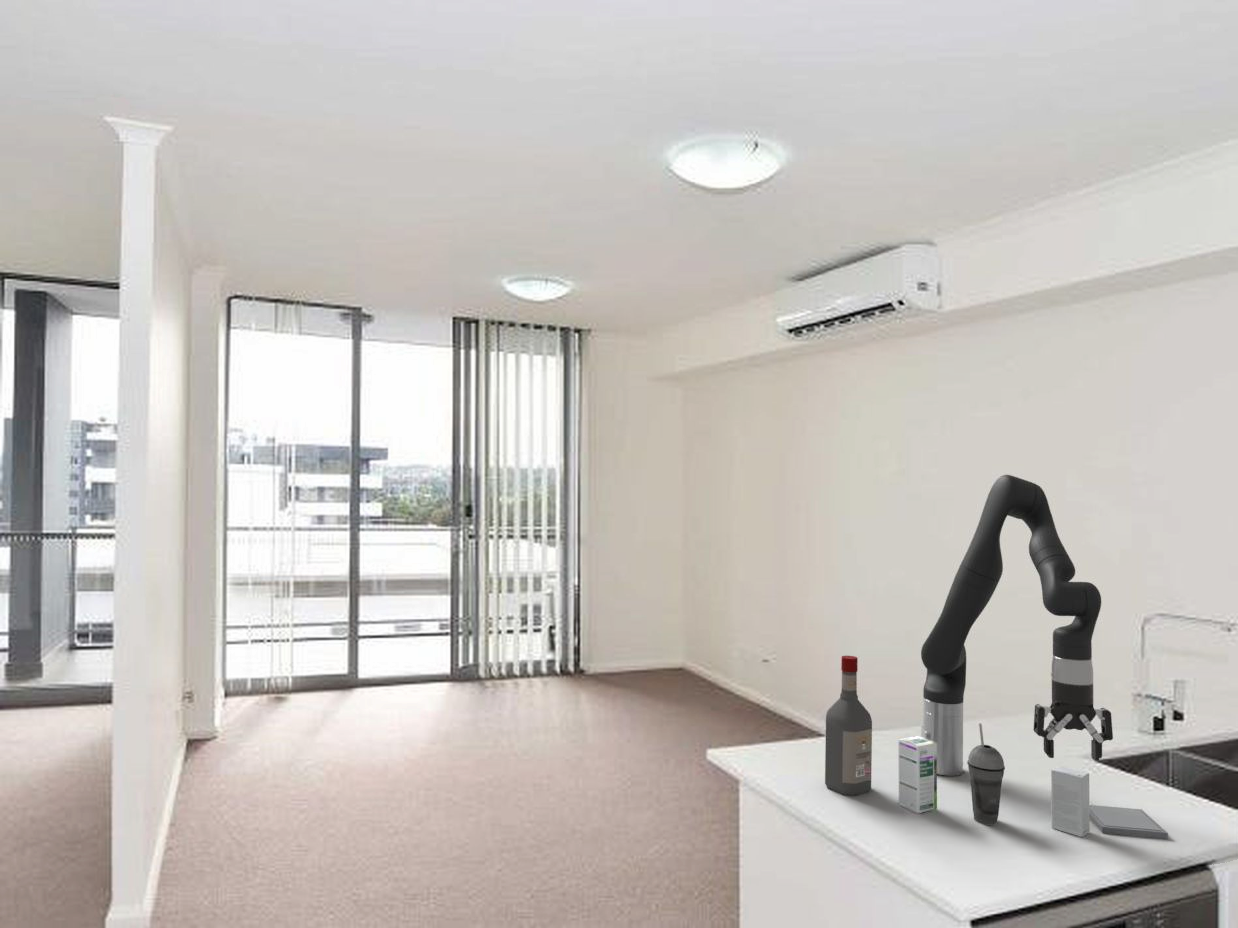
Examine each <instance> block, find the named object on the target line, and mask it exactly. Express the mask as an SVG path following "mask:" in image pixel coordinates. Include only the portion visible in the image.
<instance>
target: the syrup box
mask: <svg viewBox="0 0 1238 928" xmlns="http://www.w3.org/2000/svg"><path fill="white" fill-rule="evenodd" d="M937 790H938V774H937V743H936V742H934V741H931V740H929V739H926V738H923V737H921V736H918V735H916V736H912V737H905V738H900V739H898V805H899V806H901V807H903V808H905V809H907V810H909V811H911V812H914V813H915V814H921V813H925V812H929V811H933V810H934V811H935V810H937V809H938V791H937Z"/></svg>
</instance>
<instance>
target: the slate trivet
mask: <svg viewBox="0 0 1238 928" xmlns="http://www.w3.org/2000/svg"><path fill="white" fill-rule="evenodd" d="M1089 816H1090V821H1091V823H1093V825H1094V826H1095V827H1096V828H1097V829H1098V830H1099V831H1100V832H1101V833H1102V834H1108V835H1109V834H1110V835H1121V836H1131V837H1142V838H1154V839H1165V840H1168V837H1169V833H1168V831H1166V830H1165V829H1164V828H1163V827H1162V826H1161V825H1160V824H1158V823H1157V822H1156V820H1154V819H1153V818H1152V817H1151V816H1149V815H1148V814H1147V813H1146V812H1145V811H1144V810H1143V809H1142V808H1141V809H1139V808H1129V807H1117V806H1108V805H1107V806H1106V805H1105V806H1104V805H1094V804H1089Z"/></svg>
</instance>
